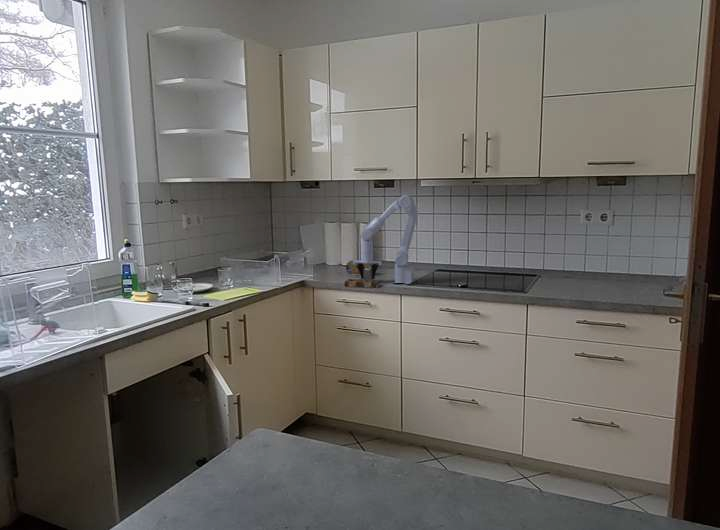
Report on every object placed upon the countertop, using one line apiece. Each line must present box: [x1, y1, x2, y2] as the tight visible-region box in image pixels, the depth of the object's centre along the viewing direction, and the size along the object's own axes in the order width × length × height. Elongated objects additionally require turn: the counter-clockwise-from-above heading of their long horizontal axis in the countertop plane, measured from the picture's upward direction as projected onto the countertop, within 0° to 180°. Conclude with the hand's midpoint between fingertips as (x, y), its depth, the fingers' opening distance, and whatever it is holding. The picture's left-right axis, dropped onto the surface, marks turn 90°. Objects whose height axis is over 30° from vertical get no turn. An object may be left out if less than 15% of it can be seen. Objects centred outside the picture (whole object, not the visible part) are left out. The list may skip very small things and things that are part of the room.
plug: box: [363, 268, 373, 280], centre depth 263 cm, size 4×4×8 cm
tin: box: [345, 259, 372, 275], centre depth 284 cm, size 15×3×8 cm, turn 76°
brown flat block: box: [344, 278, 380, 289], centre depth 257 cm, size 16×7×3 cm, turn 73°
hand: (367, 278), depth 263 cm, fingers open, 5 cm apart
